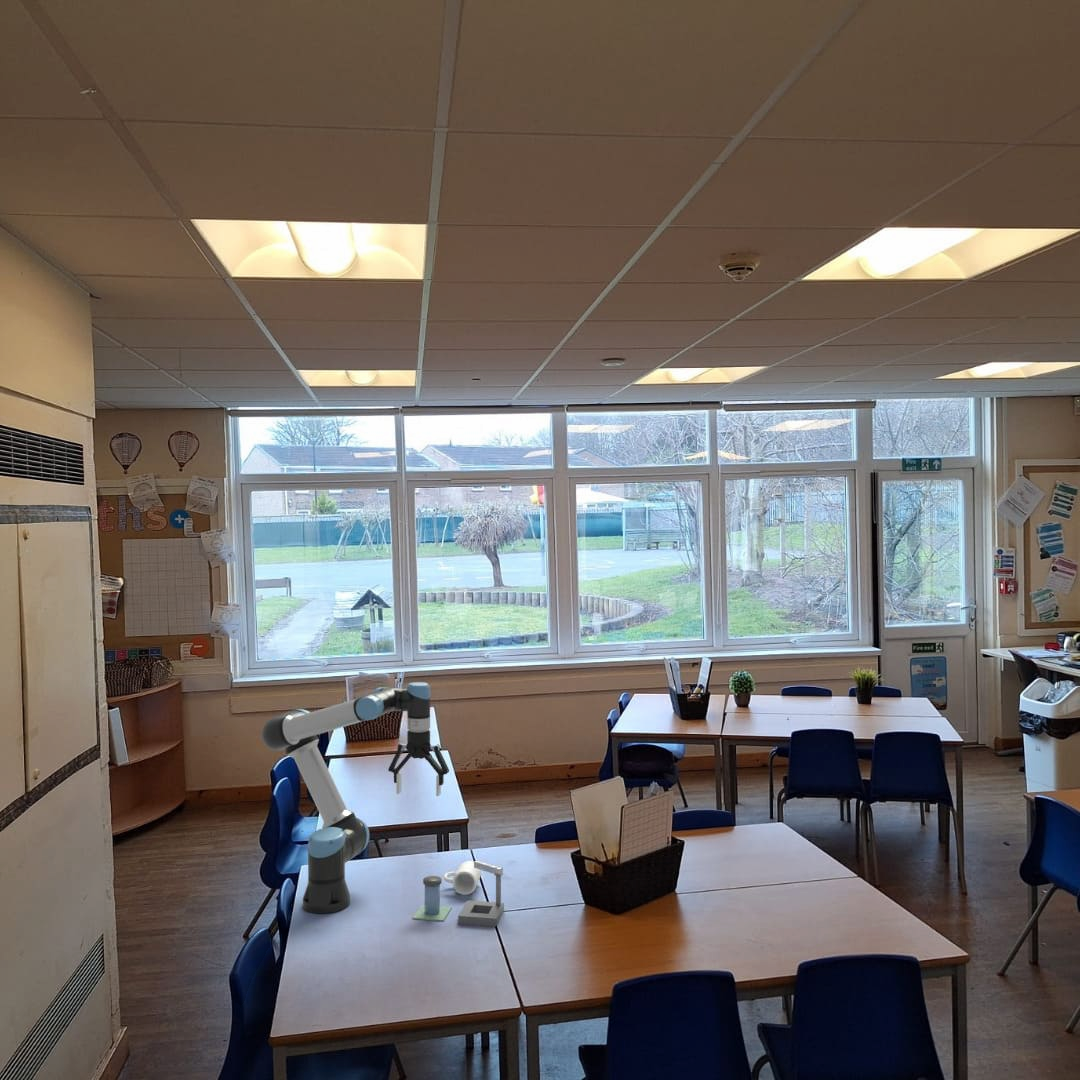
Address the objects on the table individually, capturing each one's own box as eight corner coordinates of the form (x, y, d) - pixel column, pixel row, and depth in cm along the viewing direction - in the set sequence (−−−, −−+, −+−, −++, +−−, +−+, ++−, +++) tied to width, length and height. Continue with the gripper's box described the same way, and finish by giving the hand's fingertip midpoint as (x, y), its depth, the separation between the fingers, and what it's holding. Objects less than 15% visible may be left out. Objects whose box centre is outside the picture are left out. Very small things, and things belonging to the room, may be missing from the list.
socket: (458, 923, 282) (458, 885, 282) (467, 908, 294) (467, 871, 294) (496, 926, 280) (496, 887, 280) (503, 910, 292) (504, 873, 292)
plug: (420, 915, 287) (421, 882, 287) (425, 907, 293) (425, 875, 293) (438, 916, 286) (438, 883, 286) (443, 908, 292) (443, 876, 292)
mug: (481, 884, 314) (481, 861, 314) (476, 895, 304) (476, 872, 304) (446, 882, 315) (446, 859, 315) (440, 894, 305) (440, 870, 305)
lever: (504, 873, 291) (504, 867, 291) (498, 876, 289) (499, 870, 289) (477, 865, 298) (477, 859, 298) (472, 868, 296) (472, 862, 296)
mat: (412, 918, 286) (412, 917, 286) (421, 906, 295) (421, 904, 295) (443, 921, 284) (443, 919, 284) (451, 908, 294) (451, 907, 294)
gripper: (378, 730, 300) (378, 795, 300) (452, 733, 296) (452, 798, 296) (386, 726, 307) (386, 788, 307) (458, 728, 303) (458, 792, 303)
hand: (418, 793), depth 302 cm, fingers open, 13 cm apart
